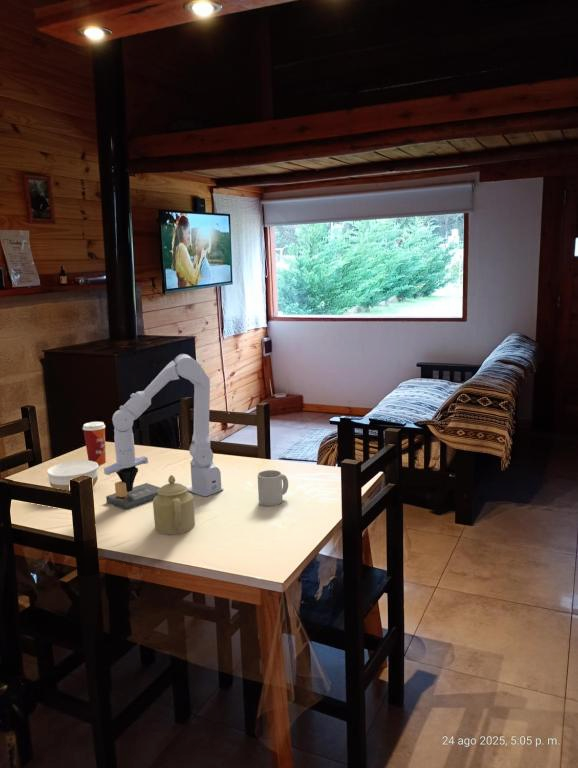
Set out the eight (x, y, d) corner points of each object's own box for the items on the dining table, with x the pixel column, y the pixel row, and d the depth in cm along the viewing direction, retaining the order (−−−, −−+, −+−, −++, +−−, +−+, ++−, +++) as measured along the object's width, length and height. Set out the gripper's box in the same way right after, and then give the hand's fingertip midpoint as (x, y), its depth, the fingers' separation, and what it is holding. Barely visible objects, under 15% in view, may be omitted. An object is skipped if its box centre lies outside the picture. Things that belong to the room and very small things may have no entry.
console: (165, 495, 202) (165, 489, 201) (125, 509, 191) (124, 503, 190) (146, 488, 208) (146, 482, 208) (106, 502, 197) (106, 496, 197)
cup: (254, 501, 194) (253, 473, 192) (282, 494, 199) (280, 466, 198) (266, 508, 188) (265, 479, 186) (294, 500, 193) (293, 472, 192)
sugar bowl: (211, 529, 174) (208, 477, 172) (178, 542, 167) (174, 488, 164) (180, 515, 185) (176, 466, 182) (147, 527, 177) (143, 476, 175)
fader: (127, 496, 196) (125, 483, 195) (121, 498, 195) (120, 484, 194) (121, 494, 198) (120, 481, 197) (115, 495, 197) (114, 482, 196)
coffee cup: (105, 465, 234) (101, 426, 231) (82, 466, 234) (78, 427, 231) (111, 459, 242) (108, 420, 239) (90, 459, 242) (86, 421, 240)
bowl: (80, 479, 220) (78, 457, 219) (110, 487, 211) (108, 464, 209) (39, 493, 207) (36, 470, 206) (69, 503, 198) (66, 478, 197)
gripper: (137, 441, 204) (140, 481, 206) (96, 452, 193) (101, 494, 196) (150, 444, 199) (153, 486, 201) (109, 456, 188) (113, 499, 191)
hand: (128, 490), depth 198 cm, fingers closed
